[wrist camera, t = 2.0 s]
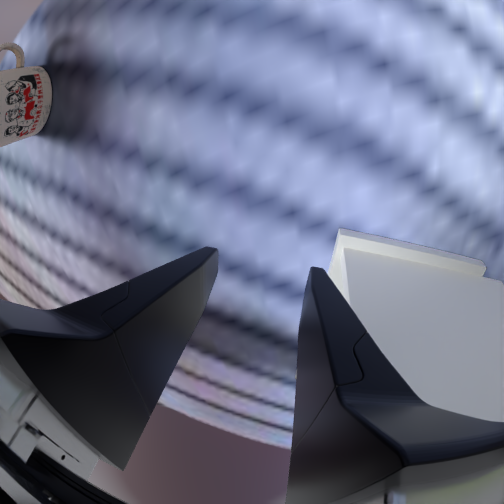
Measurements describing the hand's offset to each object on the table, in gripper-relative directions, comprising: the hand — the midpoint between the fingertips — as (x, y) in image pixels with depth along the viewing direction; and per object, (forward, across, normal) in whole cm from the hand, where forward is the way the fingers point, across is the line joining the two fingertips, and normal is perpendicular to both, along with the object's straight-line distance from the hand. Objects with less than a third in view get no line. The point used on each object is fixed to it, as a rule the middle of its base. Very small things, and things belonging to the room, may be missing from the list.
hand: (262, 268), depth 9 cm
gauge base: (+13, -13, +13) cm, 23 cm away
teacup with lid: (+13, +29, -9) cm, 33 cm away
